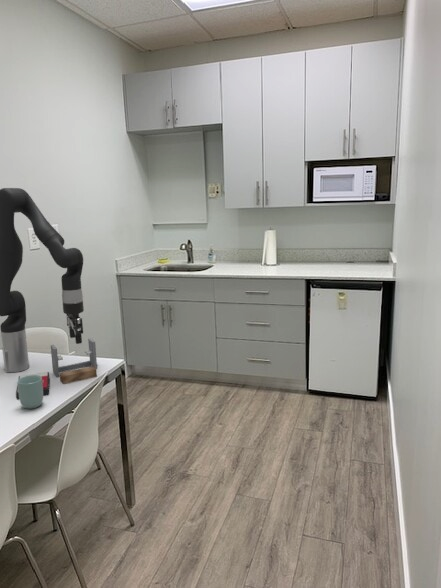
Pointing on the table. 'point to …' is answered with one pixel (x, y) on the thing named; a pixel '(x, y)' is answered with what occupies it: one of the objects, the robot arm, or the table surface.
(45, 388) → the calculator
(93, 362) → the shelf frame
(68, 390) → the table surface
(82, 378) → the shelf bar
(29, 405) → the cup
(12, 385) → the table surface
